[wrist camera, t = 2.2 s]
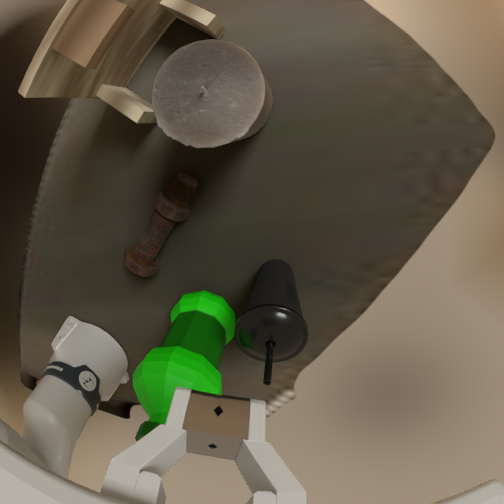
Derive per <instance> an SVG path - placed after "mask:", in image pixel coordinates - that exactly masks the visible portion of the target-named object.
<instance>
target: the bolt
mask: <svg viewBox="0 0 504 504" xmlns="http://www.w3.org/2000/svg"><path fill="white" fill-rule="evenodd" d="M198 184H199V182H198V181H197V180H196V179H195V178H193V177H192V176H190V175H188V174H186V173H184V172H181V173H178V175H176V177H175V179H174V181H173V182H172V184H171V186H170V188H169V190H167V191H162V192H159V193H158V195H157V197H156V199H155V208H156V211H155V213H154V215H153V217H152V218H151V220H150V222H149V224H148V225H147V227H146V229H145V231H144V233H143V234H142V236H141V238H140V240H139V241H138V242H137V244H136V245H127V247H126V249H125V251H124V263H125V265H126V266H127V268H128V269H129V270H130V271H132V272H133V273H135V274H137V275H141V276H144V277H148V276H152V275H154V274H156V273H157V271H158V270H159V263H158V257H157V255H158V252H159V250H160V248H161V247H162V245H163V243H164V242H165V240H166V238H167V237H168V235H169V233H170V231H171V230H172V228H173V226H174V225H175V223H176V222H180V221H184V220H186V218H187V217H188V215H189V214H190V207H189V204H188V202H189V201H190V199H191V198H192V196H193V194H194V192H196V190H197V188H198V187H199V186H198Z"/></svg>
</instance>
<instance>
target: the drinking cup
mask: <svg viewBox="0 0 504 504" xmlns="http://www.w3.org/2000/svg"><path fill="white" fill-rule="evenodd" d="M234 336H235V340H236V343H237V345H238V346H239V348H240V349H241V350H242V351H243V352H244V353H245V354H246V355H248V356H249V357H251V358H253V359H256V360H259V361H263V362H265V370H264V380H263V383H264V384H265V385H270V384H271V378H272V364H273V362H282V361H286V360H289V359H291V358H293V357H295V356H296V355H298V354H299V353H300V352H301V351H302V350H303V349H304V347H305V345H306V343H307V341H308V327H307V324H306V322H305V320H304V319H303V315H302V311H301V306H300V302H299V297H298V293H297V289H296V284H295V280H294V276H293V271H292V269H291V267H290V266H289V265H288V264H287V263H286V262H284V261H282V260H270V261H267V262H266V263H264V264H263V265H262V267H261V268H260V270H259V273H258V276H257V278H256V281H255V283H254V286H253V288H252V291H251V293H250V296H249V299H248V301H247V304H246V306H245V309H244V311H243V314H242V315H241V316H240V317H239V319H238V320H237V322H236V325H235V329H234Z"/></svg>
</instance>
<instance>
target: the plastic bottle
mask: <svg viewBox="0 0 504 504" xmlns="http://www.w3.org/2000/svg"><path fill="white" fill-rule="evenodd" d="M235 322H236V315H235V313H234V311H233V310H232V308H231V307H230V306H229V305H228V303H227V302H226V301H225V300H224V298H223V297H221V296H218V295H215V294H213V293H210V292H207V291H205V290H204V291H198V292H193V293H187V294H185V295H183V296H182V297H181V299H180V300H179V301H178V302H177V304H176V305H175V306H174V307H173V309H172V311H171V326H170V328H169V330H168V332H167V334H166V336H165V338H164V340H163V342H162V343H161V345H160V347H159V348H153V349H152V350H151V351H150V352H149V353H148V354H147V355H146V357H145V358H144V359H143V360H142V362H141V363H140V364H139V365H138V366H137V368H136V370H135V372H134V373H133V387H134V390H135V393H136V395H137V398H138V400H139V402H140V404H141V405H142V407H143V408H144V410H145V411H146V413H147V414H148V415H149V416H150V418H149V420H148V421H145V422H144V423H142V424H141V426H140V428H139V430H138V432H137V435H136V437H135V439H136V441H138V440H140V439H141V438H142V437H144V436H145V435H147V434H148V433H149V432H151V431H152V430H153V429H155V428H156V427H157V426H159V425H160V424H164V425H165V423H166V420H167V416H168V412H169V409H170V406H171V402H172V399H173V395H174V392H175V389H176V387H177V386H180V387H185V388H189V389H193V390H198V391H203V392H208V393H213V394H218V395H222V384H221V373H220V372H219V371H218V370H219V366H220V363H221V359H222V355H223V351H224V348H225V345H226V344H227V343H228V342H229V341H230V340H231V339H232V338H233V337H234V329H235Z"/></svg>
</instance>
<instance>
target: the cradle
mask: <svg viewBox="0 0 504 504" xmlns="http://www.w3.org/2000/svg"><path fill="white" fill-rule="evenodd" d="M176 18H178V19H180V20H182V21H184V22H186V23H188V24H190V25H192V26H194V27H195V28H197V29H199V30H201V31H203V32H205V33H207V34H208V35H210V36H212V37H214V38H216V39H217V40H219V39H220V38H221V37H222V35H223V34H224V33H225V32H226V30H225V29H224V27H223V25H222V24H221V22H220V21H219V19H218V18H217V16H216V15H214V14H212V13H210V12H208V11H206V10H204V9H202V8H200V7H198V6H196V5H193V4H191V3H189V2H187V1H185V0H67V2H66V3H65V5H64V6H63V8H62V9H61V11H60V12H59V14H58V15H57V17H56V18H55V20H54V22H53V23H52V25H51V27H50V28H49V30H48V32H47V33H46V35H45V37H44V39H43V41H42V42H41V44H40V46H39V48H38V50H37V52H36V54H35V56H34V58H33V60H32V62H31V64H30V66H29V68H28V70H27V72H26V75H25V77H24V79H23V81H22V84H21V86H20V88H19V91H18V92H19V93H20V94H21V95H22V96H24V97H25V98H27V97H77V98H98V99H102V100H104V101H105V102H106V103H108V104H109V105H111V106H112V107H114V108H115V109H117V110H118V111H120V112H121V113H123V114H124V115H126V116H127V117H129V118H130V119H131V120H133V121H134V122H136V123H157V119H156V117H155V114H154V111H153V107H152V105H151V104H150V103H148V102H147V101H145V100H144V99H142V98H141V97H139V96H138V95H136V94H135V93H133V92H131V91H130V90H128V89H127V88H126V87H127V85H128V84H129V82H130V80H131V79H132V77H133V76H134V74H135V73H136V71H137V70H138V68H139V67H140V65H141V64H142V62H143V61H144V59H145V58H146V57H147V55H148V54H149V52H150V51H151V50H152V48H153V47H154V46H155V44H156V43H157V41H158V40H159V39H160V38H161V36H162V35H163V34H164V32H165V31H166V30H167V29H168V27H169V26H170V25H171V24H172V22H173V21H174V20H175V19H176Z"/></svg>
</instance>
